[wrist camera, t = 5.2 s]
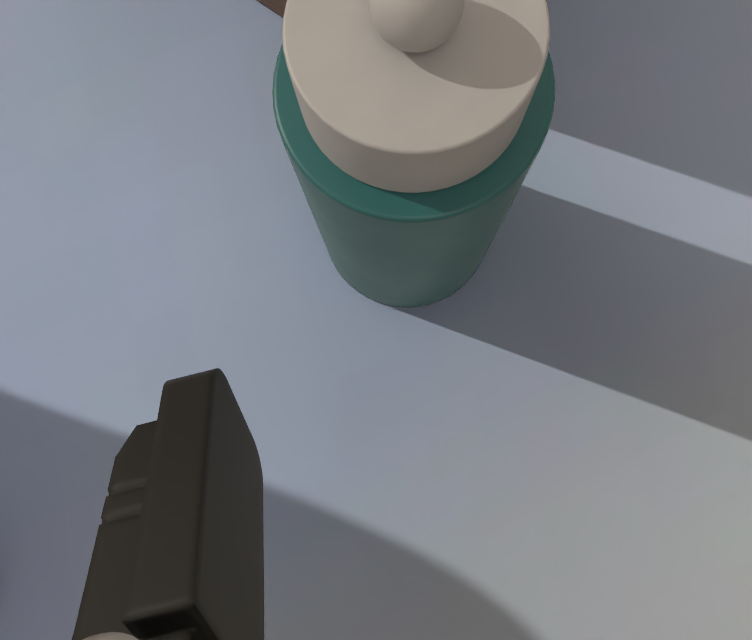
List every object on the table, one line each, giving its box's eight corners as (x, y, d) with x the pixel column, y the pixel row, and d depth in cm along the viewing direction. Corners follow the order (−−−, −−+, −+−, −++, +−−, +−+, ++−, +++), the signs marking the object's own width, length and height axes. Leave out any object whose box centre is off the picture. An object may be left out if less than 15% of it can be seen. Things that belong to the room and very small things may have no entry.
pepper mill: (292, 245, 21) (152, 13, 9) (388, 120, 21) (376, -259, 9) (425, 340, 20) (465, 226, 8) (520, 208, 21) (685, -76, 9)
